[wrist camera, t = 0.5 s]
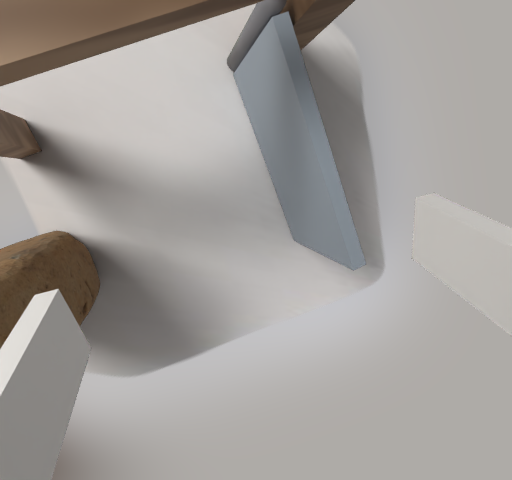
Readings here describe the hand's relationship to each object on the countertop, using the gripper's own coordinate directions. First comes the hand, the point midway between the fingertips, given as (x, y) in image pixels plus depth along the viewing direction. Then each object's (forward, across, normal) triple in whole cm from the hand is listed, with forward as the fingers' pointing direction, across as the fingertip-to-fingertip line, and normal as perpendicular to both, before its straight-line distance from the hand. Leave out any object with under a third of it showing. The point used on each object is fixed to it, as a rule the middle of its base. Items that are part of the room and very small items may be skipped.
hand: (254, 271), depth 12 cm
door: (+26, +8, -2) cm, 27 cm away
